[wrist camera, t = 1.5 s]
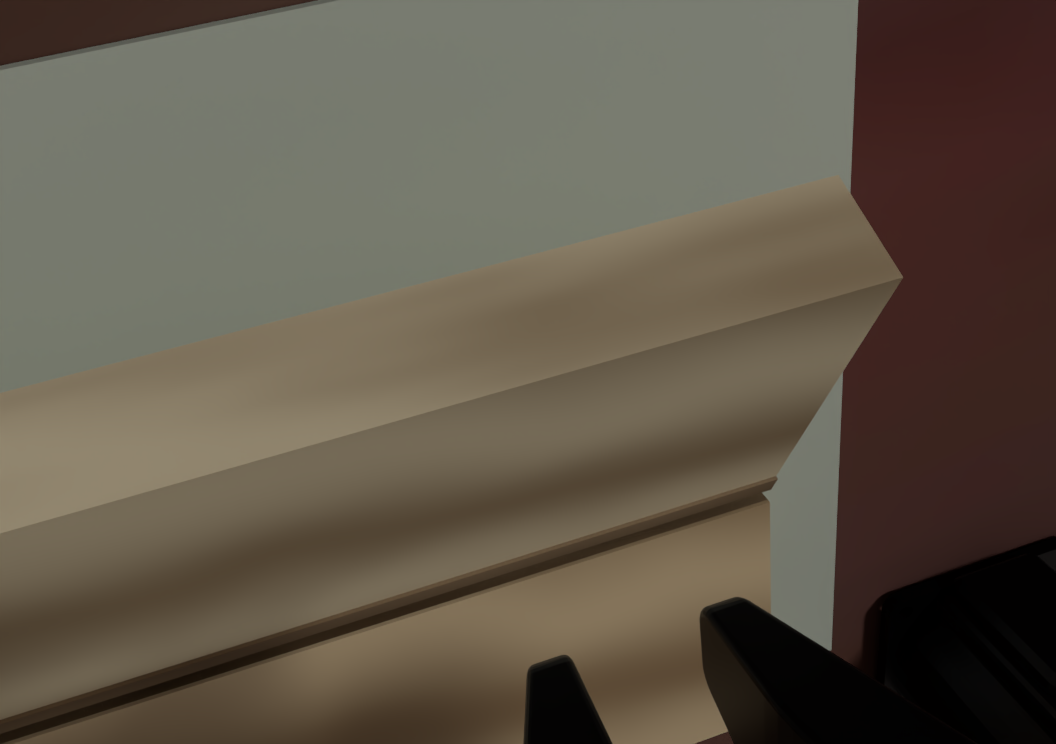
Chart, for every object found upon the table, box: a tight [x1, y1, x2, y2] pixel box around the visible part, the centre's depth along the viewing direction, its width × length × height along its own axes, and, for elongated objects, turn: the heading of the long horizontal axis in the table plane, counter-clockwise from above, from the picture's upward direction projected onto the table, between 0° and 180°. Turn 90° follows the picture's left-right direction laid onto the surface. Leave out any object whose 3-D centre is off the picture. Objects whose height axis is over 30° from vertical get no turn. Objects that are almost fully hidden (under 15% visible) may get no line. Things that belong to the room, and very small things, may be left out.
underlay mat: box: [0, 0, 858, 651], centre depth 20 cm, size 20×30×1 cm, turn 99°
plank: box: [0, 175, 903, 734], centre depth 15 cm, size 8×24×2 cm
